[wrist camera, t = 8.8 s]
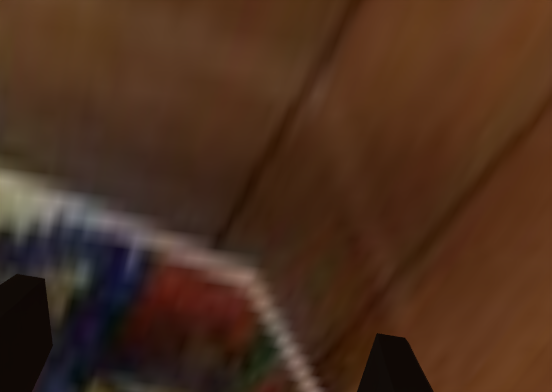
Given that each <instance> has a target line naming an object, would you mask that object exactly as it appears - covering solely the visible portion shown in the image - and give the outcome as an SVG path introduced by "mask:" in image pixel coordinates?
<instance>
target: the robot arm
mask: <svg viewBox="0 0 552 392" xmlns="http://www.w3.org/2000/svg"><path fill="white" fill-rule="evenodd" d="M52 346H53V344H52V336H51V327H50V319H49V311H48V302H47V294H46V286H45V279H44V278H38V277H31V276H25V275H19V274H16V275H15V276H13V277H11V278H10V279H8V280H7V281H5V282H4V283H2V284H1V285H0V392H32V390H33V388H34V386H35V384H36V382H37V379H38V377H39V375H40V373H41V371H42V369H43V367H44V364H45V362H46V360H47V357H48V355H49V353H50V351H51V348H52ZM357 392H433V390H432V388H431V386H430V384H429V382H428V380H427V378H426V376H425V375H424V373H423V371H422V369H421V367H420V365H419V363H418V361H417V359H416V357H415V355H414V353H413V351H412V349H411V347H410V345H409V343H408V341H407V340H406V338H403V337H397V336H391V335H384V334H378V333H377V334H376V337H375V340H374V343H373V346H372V349H371V352H370V355H369V358H368V361H367V364H366V367H365V370H364V373H363V376H362V379H361V382H360V385H359V388H358V390H357Z"/></svg>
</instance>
